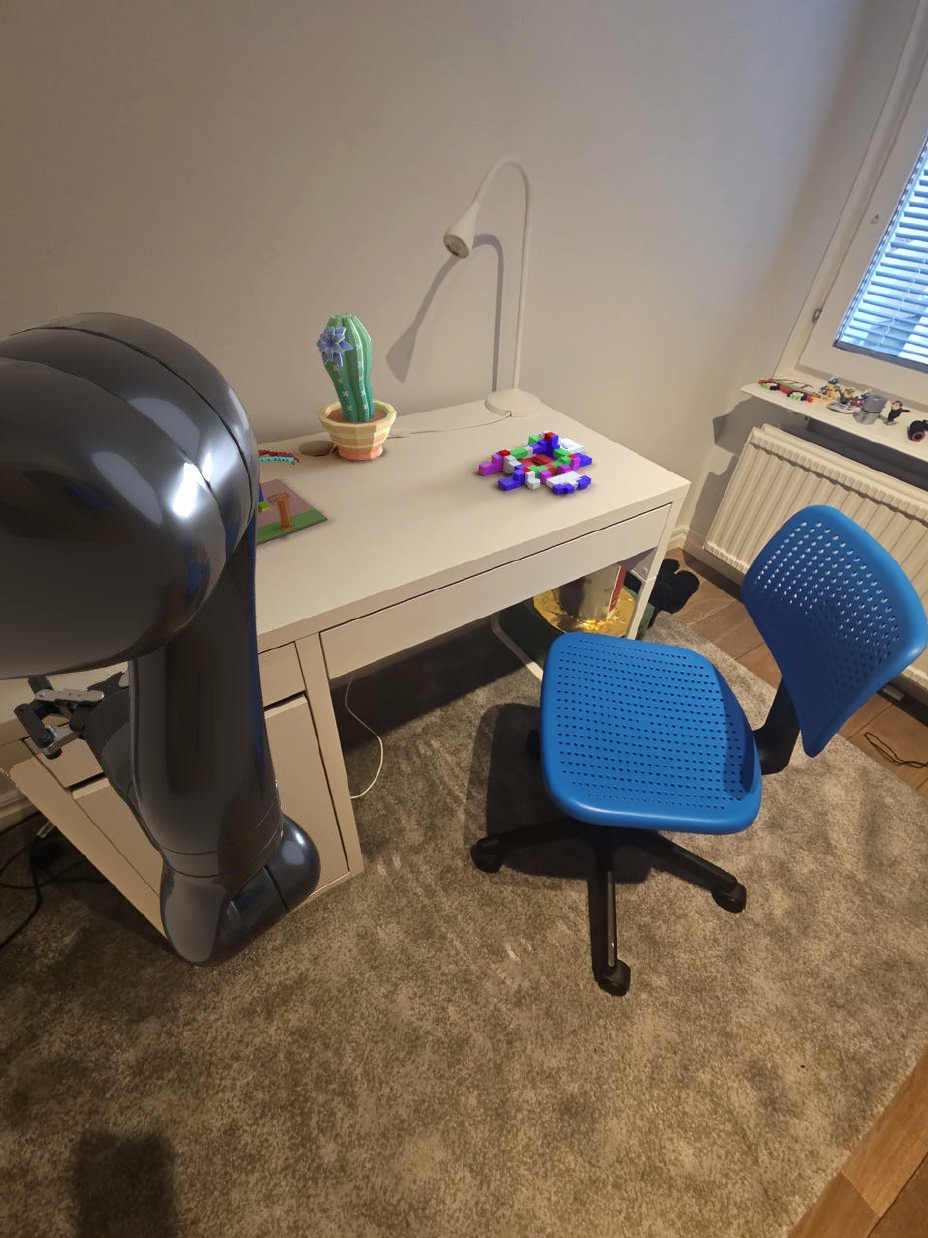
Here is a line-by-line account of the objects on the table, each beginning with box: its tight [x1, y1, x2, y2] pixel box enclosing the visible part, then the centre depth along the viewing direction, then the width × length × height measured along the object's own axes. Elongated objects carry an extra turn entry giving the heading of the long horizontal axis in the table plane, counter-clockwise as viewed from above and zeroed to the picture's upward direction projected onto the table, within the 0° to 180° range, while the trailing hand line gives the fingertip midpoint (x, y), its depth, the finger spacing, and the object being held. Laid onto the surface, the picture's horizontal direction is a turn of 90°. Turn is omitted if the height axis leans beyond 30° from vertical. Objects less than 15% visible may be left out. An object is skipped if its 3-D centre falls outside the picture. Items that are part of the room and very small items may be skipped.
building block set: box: [477, 430, 593, 496], centre depth 106 cm, size 25×20×4 cm
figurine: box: [257, 449, 328, 546], centre depth 87 cm, size 14×18×14 cm
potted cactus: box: [315, 312, 397, 461], centre depth 103 cm, size 15×15×25 cm
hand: (86, 654), depth 56 cm, fingers open, 8 cm apart
